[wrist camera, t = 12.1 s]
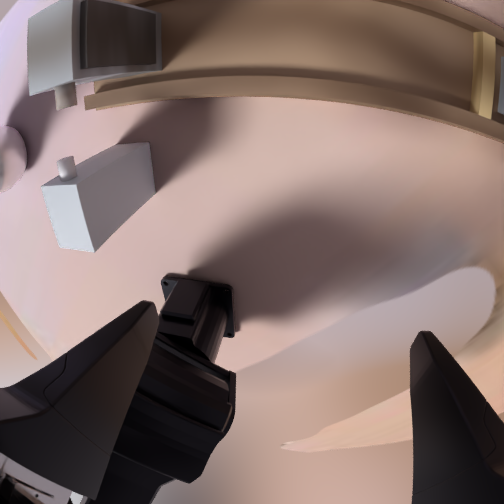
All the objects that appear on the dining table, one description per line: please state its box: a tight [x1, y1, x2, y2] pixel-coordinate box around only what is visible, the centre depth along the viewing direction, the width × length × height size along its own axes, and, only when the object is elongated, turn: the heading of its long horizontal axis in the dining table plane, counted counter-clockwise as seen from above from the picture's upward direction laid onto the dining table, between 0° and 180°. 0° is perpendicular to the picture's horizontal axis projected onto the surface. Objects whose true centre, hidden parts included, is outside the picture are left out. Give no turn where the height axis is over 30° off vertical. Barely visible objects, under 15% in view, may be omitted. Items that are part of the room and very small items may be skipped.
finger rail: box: [27, 0, 504, 144], centre depth 9 cm, size 8×32×9 cm, turn 90°
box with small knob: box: [41, 142, 156, 252], centre depth 16 cm, size 3×5×8 cm, turn 0°
